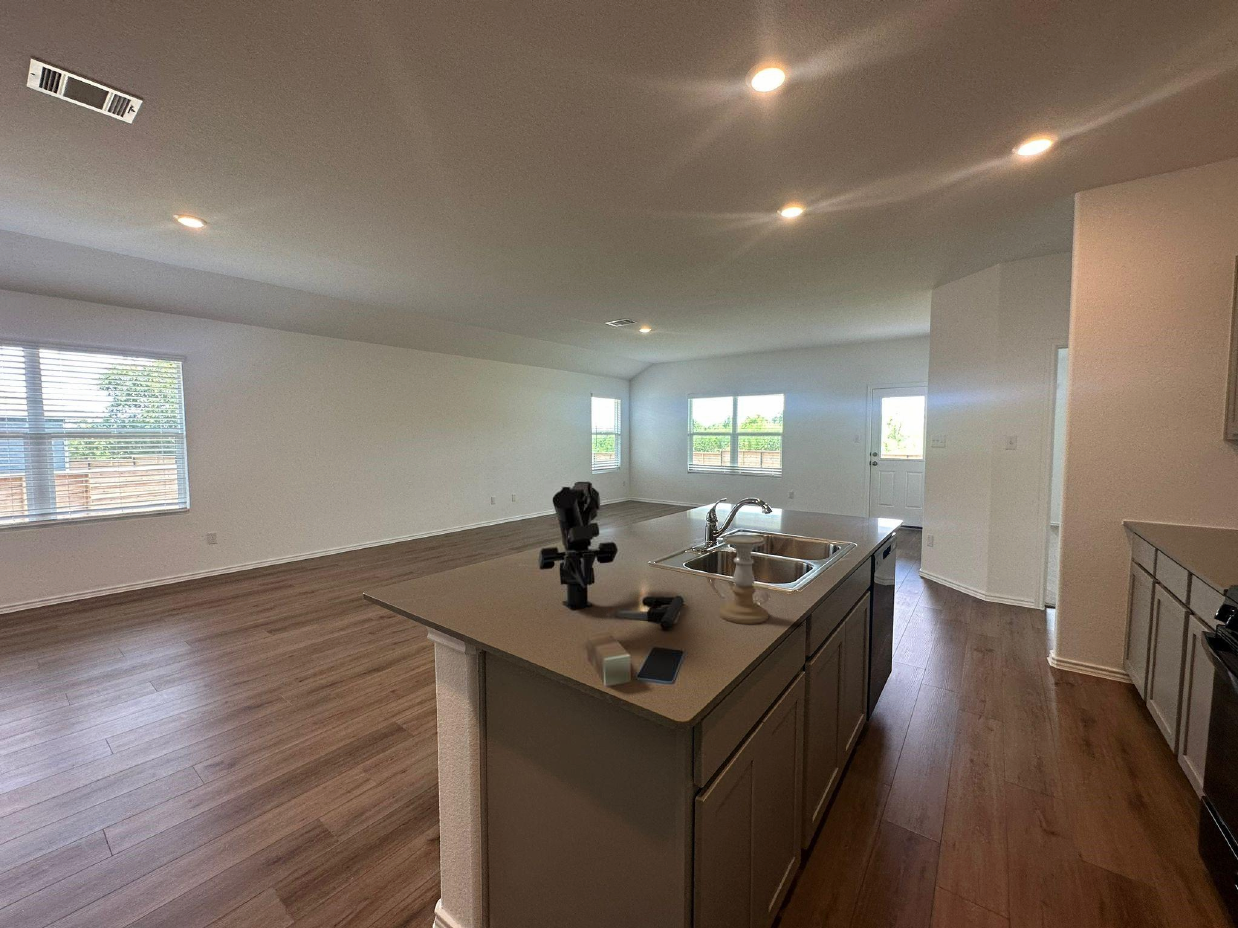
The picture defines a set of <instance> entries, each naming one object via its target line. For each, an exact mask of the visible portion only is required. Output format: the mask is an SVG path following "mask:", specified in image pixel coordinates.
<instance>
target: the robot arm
mask: <svg viewBox="0 0 1238 928" xmlns="http://www.w3.org/2000/svg"><path fill="white" fill-rule="evenodd" d="M600 497H601V496H600V492H599V491H598V490H597V489H596V488H594V487H593V483H592V482H591V481H576V482H574V485H573V486H572V487H570V486H562V488H561V489H560V491H557V492H556V493H555V494H554V495H553V497H552V504H553V507H554V508H553V509H554V511H555V515H556V517H557V520H558V524H559V529H560V534H561V538H562V539H561V541H562V545H563V547H564V548H563V549H564V551H559V548H558V547H557V546H552V547H550V546H549V547H542V548H541V549H540V551H539V556H538V560H537V561H538V562H537V563H538V567H539V570H540V571H541V570H552V569H554V567H555V565H556V563H555V562H560V564H559V580H560V586H563V585H566V600H563V601H562V605H564V606H566V607H567V608H569V609H570V610H577V609H582V608H586V607H587V608H588V607H592V606H593V602H591V601H589V600H588V599H589V598H588V597H589V596H588V595H589V593H588V590H589V589H588V588H589V587H588V586H592V585H594V584H595V583H596V581H595V580H596V579H595V578H596V576H595V569H594V567H593V566H594V562H595V559H596V561H597V562H598V563H599V564H610V563H612V562H614V560H615V558H616V555H617V554H618V551H619V550H618V549H619V548H618V546H617V544H616V543H615V542H613V541H608V542H607V541H606V542H600V543H599V545H598V546H597V548H592V549H591V548H590V549H589V547H591V545H592V542H591V540H593V539H594V538H597V537H599V536H600V528H599V525H598V524H599V523H598V522H592V521H593V520H594V519H596V518H597V517H598V513H599V512H598V511H600V510H601V498H600Z"/></svg>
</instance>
